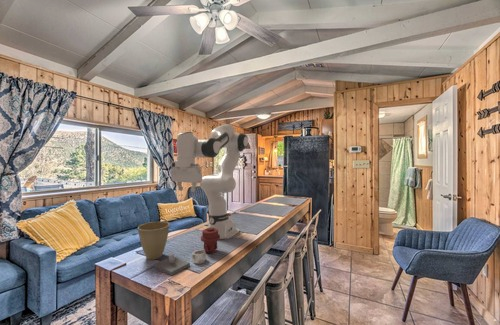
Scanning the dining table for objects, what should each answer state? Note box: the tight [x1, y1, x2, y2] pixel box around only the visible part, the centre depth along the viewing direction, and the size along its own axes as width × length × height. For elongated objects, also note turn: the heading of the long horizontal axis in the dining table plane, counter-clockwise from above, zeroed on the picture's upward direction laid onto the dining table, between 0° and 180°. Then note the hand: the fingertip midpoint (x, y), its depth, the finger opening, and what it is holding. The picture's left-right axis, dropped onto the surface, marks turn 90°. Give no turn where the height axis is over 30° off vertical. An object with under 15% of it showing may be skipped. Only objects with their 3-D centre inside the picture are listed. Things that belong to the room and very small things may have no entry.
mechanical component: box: [200, 226, 221, 254], centre depth 119 cm, size 12×10×10 cm
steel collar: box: [191, 249, 207, 265], centre depth 108 cm, size 6×6×4 cm
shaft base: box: [153, 253, 191, 276], centre depth 102 cm, size 10×13×6 cm
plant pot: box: [137, 221, 170, 260], centre depth 114 cm, size 15×15×16 cm
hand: (186, 191), depth 112 cm, fingers open, 8 cm apart
